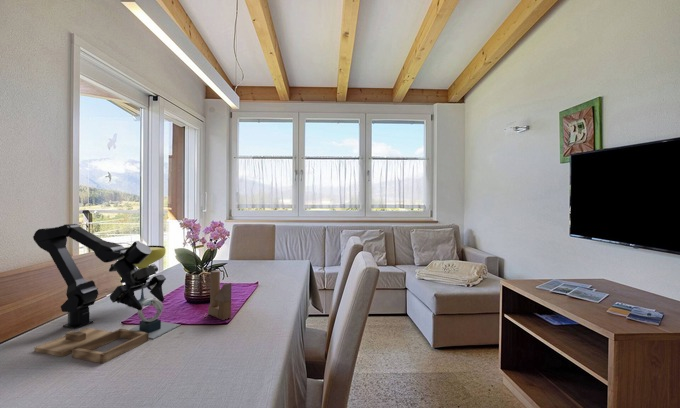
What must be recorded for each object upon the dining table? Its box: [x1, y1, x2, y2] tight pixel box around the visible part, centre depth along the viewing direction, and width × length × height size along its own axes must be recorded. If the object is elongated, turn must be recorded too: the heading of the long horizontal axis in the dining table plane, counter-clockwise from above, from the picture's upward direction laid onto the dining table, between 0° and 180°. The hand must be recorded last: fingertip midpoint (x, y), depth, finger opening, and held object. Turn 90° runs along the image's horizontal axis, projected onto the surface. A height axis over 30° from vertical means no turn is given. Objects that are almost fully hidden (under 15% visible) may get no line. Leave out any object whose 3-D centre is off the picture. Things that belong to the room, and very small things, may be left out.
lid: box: [33, 327, 113, 358], centre depth 98 cm, size 12×15×3 cm
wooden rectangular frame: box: [71, 328, 149, 364], centre depth 95 cm, size 12×15×2 cm
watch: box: [137, 297, 164, 333], centre depth 109 cm, size 6×8×11 cm
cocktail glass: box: [123, 245, 167, 307], centre depth 138 cm, size 18×18×25 cm
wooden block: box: [207, 270, 232, 321], centre depth 123 cm, size 4×11×18 cm, turn 55°
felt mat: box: [129, 321, 181, 340], centre depth 109 cm, size 14×12×1 cm
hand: (152, 305), depth 109 cm, fingers open, 9 cm apart
